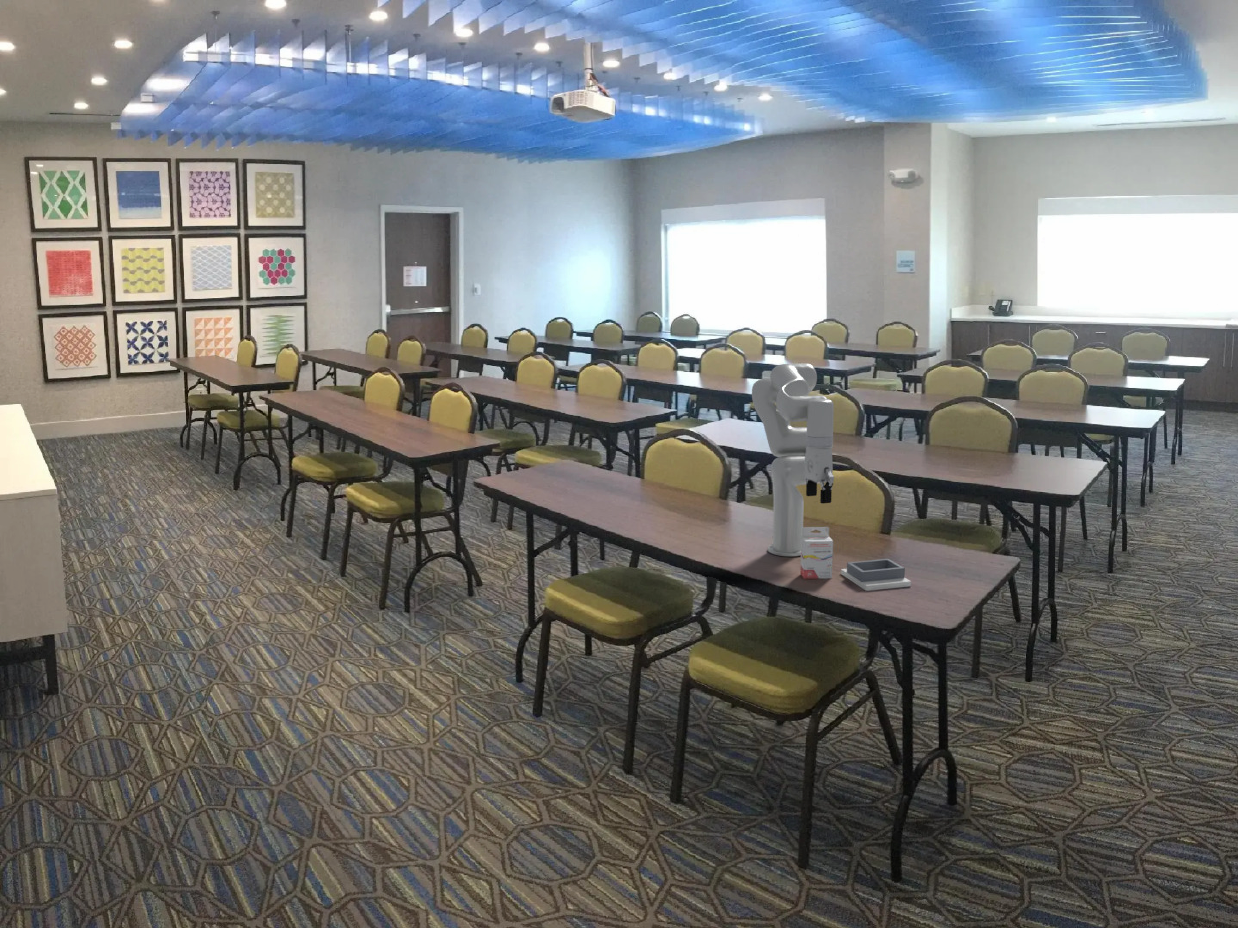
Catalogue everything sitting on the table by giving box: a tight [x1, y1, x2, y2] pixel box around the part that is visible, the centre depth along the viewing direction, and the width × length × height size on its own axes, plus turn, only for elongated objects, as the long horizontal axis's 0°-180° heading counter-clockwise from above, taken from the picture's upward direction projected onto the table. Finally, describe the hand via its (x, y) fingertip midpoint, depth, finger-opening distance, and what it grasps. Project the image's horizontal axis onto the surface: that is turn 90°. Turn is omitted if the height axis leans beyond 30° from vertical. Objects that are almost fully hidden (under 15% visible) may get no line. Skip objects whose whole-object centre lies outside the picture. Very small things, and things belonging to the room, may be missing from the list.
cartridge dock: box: [840, 558, 912, 592], centre depth 281 cm, size 16×14×4 cm
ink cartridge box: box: [800, 526, 834, 580], centre depth 284 cm, size 9×5×15 cm, turn 92°
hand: (818, 499), depth 281 cm, fingers open, 9 cm apart
